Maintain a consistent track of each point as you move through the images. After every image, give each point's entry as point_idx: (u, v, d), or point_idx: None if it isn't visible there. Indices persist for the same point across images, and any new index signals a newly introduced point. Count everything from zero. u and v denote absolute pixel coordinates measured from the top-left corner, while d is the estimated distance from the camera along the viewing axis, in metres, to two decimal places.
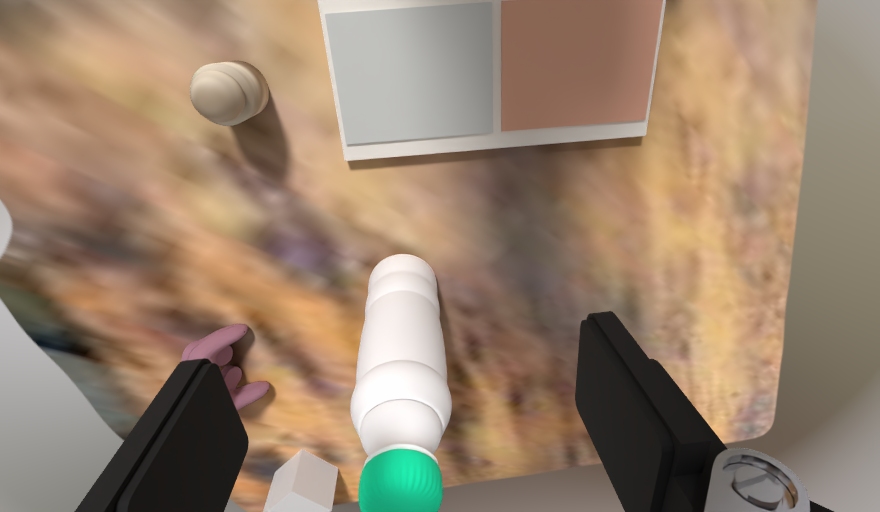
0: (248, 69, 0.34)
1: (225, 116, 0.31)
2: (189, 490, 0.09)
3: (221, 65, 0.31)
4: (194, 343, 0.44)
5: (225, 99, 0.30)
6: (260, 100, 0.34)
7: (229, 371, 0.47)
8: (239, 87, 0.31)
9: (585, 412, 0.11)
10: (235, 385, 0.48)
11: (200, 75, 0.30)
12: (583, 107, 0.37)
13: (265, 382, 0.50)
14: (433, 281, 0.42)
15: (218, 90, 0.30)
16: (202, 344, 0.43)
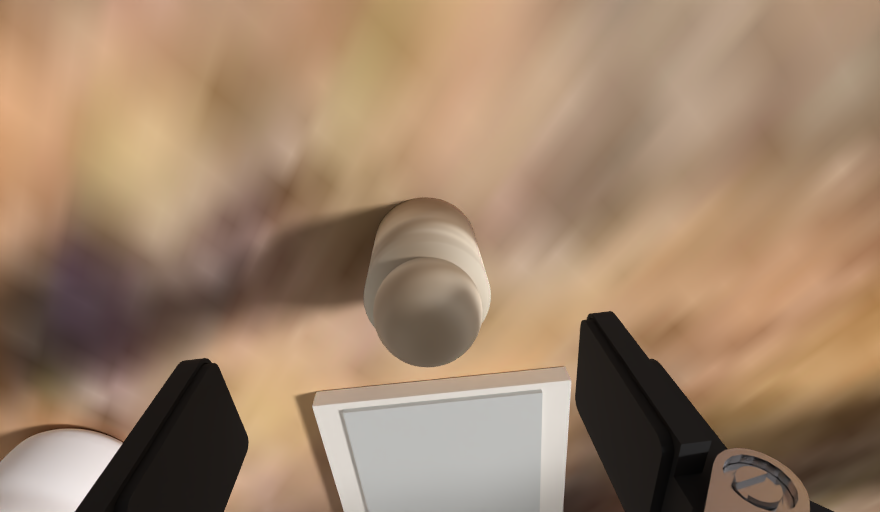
0: None
1: (390, 349, 0.13)
2: (189, 490, 0.09)
3: (486, 308, 0.15)
4: None
5: (429, 365, 0.13)
6: None
7: None
8: None
9: (585, 412, 0.11)
10: None
11: (476, 308, 0.13)
12: None
13: None
14: None
15: (448, 358, 0.13)
16: None
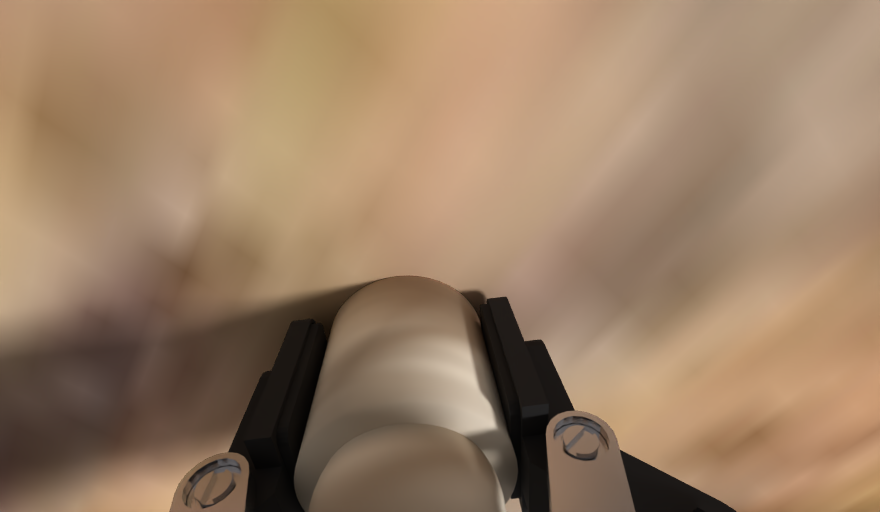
0: None
1: None
2: None
3: (510, 489, 0.09)
4: None
5: None
6: None
7: None
8: None
9: None
10: None
11: None
12: None
13: None
14: None
15: None
16: None
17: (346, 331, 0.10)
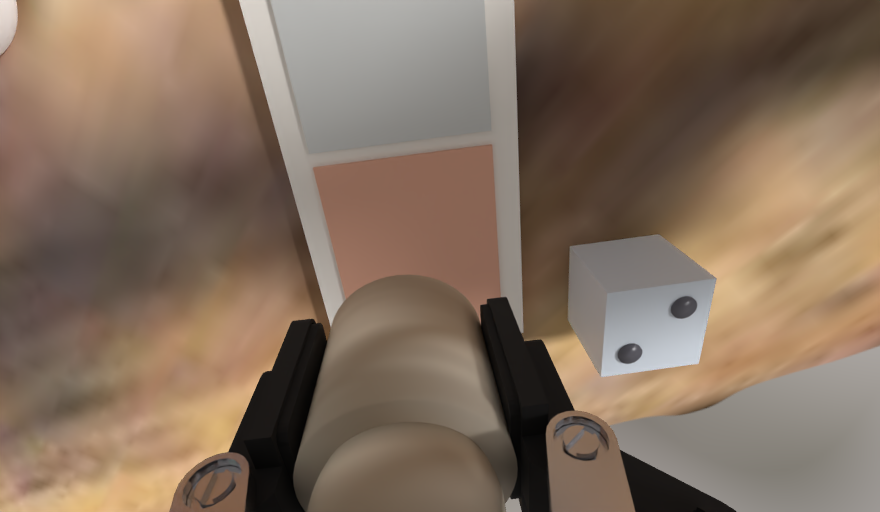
0: None
1: None
2: None
3: (509, 487, 0.09)
4: None
5: None
6: None
7: None
8: None
9: None
10: None
11: None
12: (365, 277, 0.27)
13: None
14: None
15: None
16: None
17: (346, 330, 0.10)
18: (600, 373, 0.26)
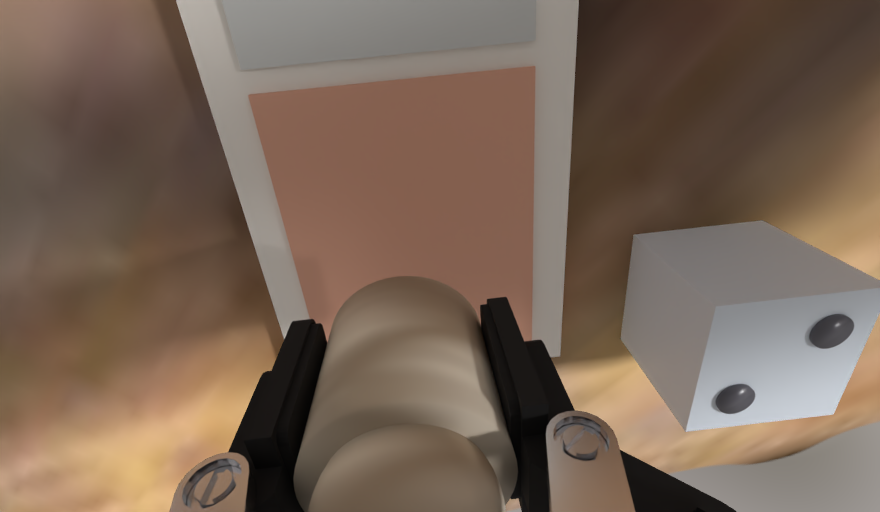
0: None
1: None
2: None
3: (510, 489, 0.09)
4: None
5: None
6: None
7: None
8: None
9: None
10: None
11: None
12: (334, 272, 0.18)
13: None
14: None
15: None
16: None
17: (346, 331, 0.10)
18: (685, 426, 0.17)
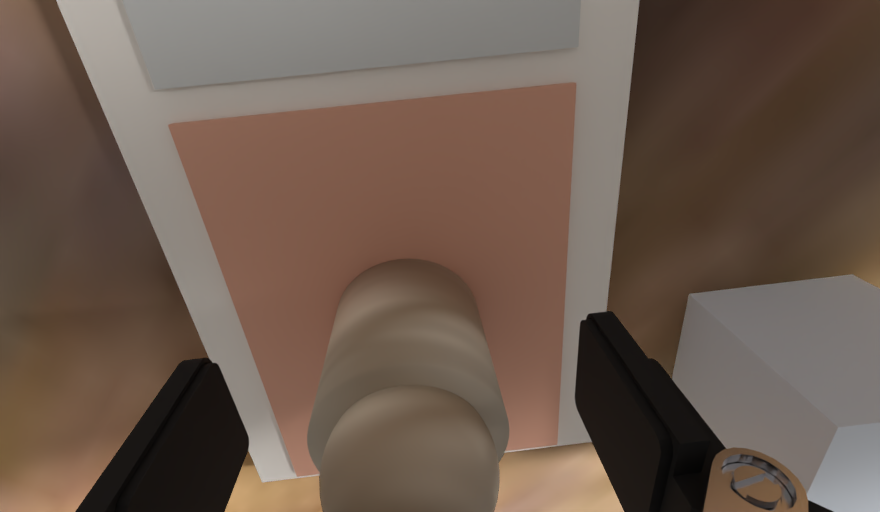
0: None
1: None
2: (190, 490, 0.09)
3: (502, 448, 0.10)
4: None
5: None
6: None
7: None
8: None
9: (584, 412, 0.11)
10: None
11: (491, 483, 0.08)
12: (301, 352, 0.14)
13: None
14: None
15: None
16: None
17: (352, 308, 0.11)
18: None
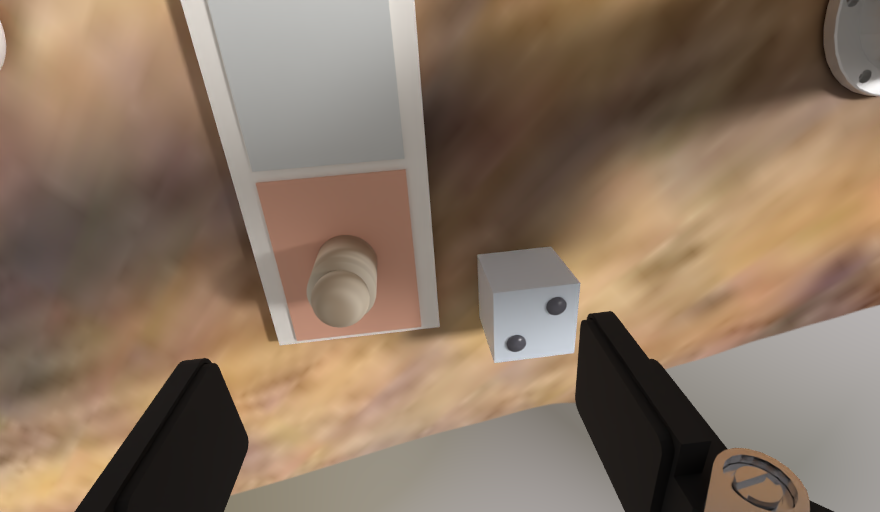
0: None
1: (319, 317, 0.26)
2: (189, 490, 0.09)
3: (374, 297, 0.28)
4: None
5: (339, 325, 0.26)
6: None
7: None
8: None
9: (585, 412, 0.11)
10: None
11: (364, 296, 0.26)
12: (301, 276, 0.32)
13: None
14: None
15: (349, 321, 0.26)
16: None
17: (323, 251, 0.29)
18: (494, 359, 0.31)
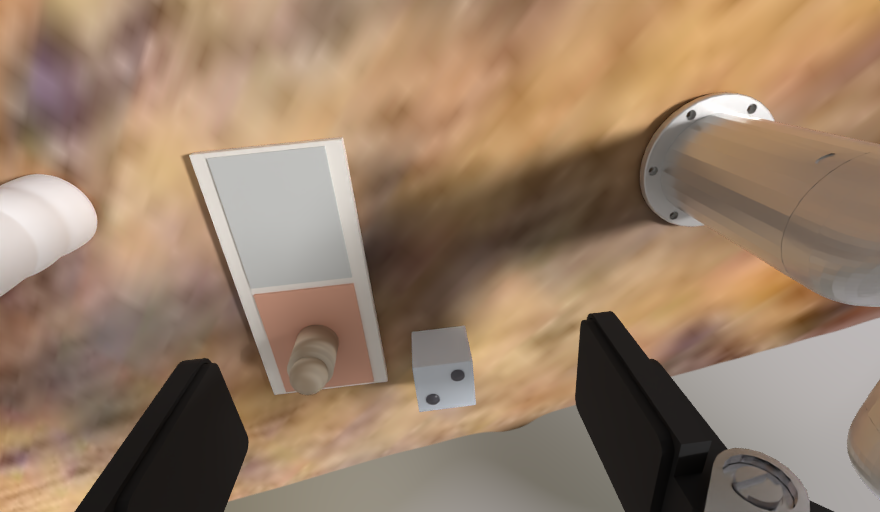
0: None
1: (294, 388, 0.40)
2: (189, 490, 0.09)
3: (332, 373, 0.42)
4: None
5: (306, 394, 0.40)
6: None
7: None
8: None
9: (585, 412, 0.11)
10: None
11: (323, 376, 0.40)
12: (286, 350, 0.46)
13: None
14: None
15: (313, 392, 0.40)
16: None
17: (300, 338, 0.43)
18: (419, 409, 0.45)
